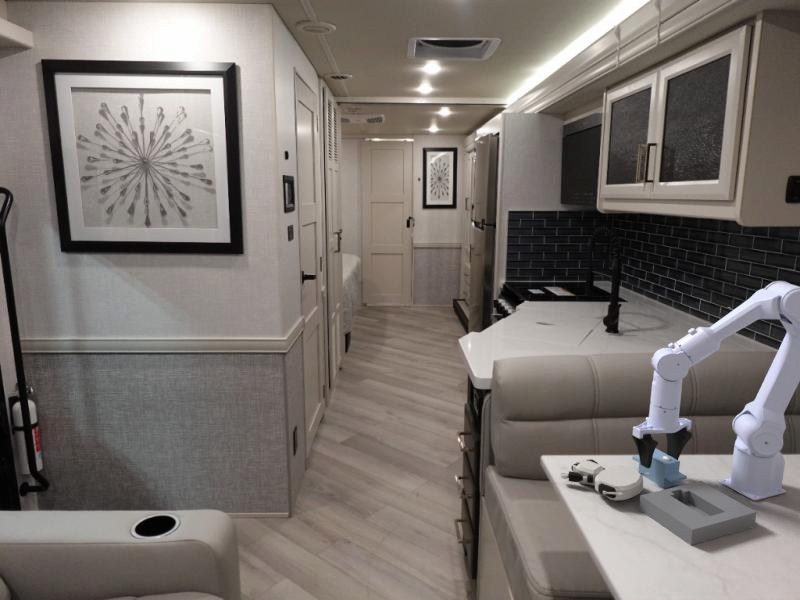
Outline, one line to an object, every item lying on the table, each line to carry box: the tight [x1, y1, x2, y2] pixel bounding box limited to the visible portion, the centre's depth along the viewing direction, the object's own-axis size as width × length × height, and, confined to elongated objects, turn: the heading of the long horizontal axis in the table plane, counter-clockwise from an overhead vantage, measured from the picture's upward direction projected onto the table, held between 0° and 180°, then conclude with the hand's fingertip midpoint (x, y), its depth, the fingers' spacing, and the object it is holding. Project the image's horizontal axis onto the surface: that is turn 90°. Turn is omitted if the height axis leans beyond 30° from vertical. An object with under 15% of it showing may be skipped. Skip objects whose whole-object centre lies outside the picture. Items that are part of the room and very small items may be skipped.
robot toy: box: [560, 458, 649, 502], centre depth 114 cm, size 12×4×15 cm
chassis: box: [638, 480, 758, 546], centre depth 103 cm, size 16×12×3 cm
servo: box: [632, 447, 688, 489], centre depth 117 cm, size 4×11×6 cm, turn 21°
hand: (658, 463), depth 117 cm, fingers open, 7 cm apart
